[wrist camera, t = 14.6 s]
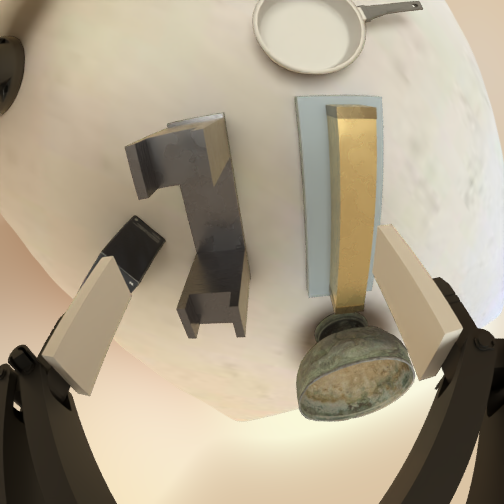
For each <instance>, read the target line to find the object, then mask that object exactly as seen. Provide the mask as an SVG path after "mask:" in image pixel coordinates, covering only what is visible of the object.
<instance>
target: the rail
mask: <svg viewBox="0 0 504 504" xmlns="http://www.w3.org/2000/svg"><path fill="white" fill-rule="evenodd" d="M326 115H327V125H328V139H329V158H330V185H331V256H330V284H329V293H330V297H331V301H332V305H333V309H334V313H335V315H337V314H346V313H354V312H361V311H364V302H365V295H366V289H367V282H368V275H369V268H370V259H371V251H372V241H373V230H374V218H375V202H376V179H377V127H376V119H377V108H376V107H372V106H366V105H359V104H328V105H326Z"/></svg>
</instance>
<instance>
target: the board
mask: <svg viewBox="0 0 504 504" xmlns="http://www.w3.org/2000/svg"><path fill="white" fill-rule="evenodd" d="M295 104H296V113H297V123H298V133H299V144H300V156H301V168H302V182H303V197H304V215H305V236H306V266H307V290H308V296H309V298H310V297H320V296H329V295H330V293H329V284H330V256H331V185H330V158H329V139H328V125H327V115H326V105H328V104H359V105H366V106H372V107H376V108H377V119H376V127H377V179H376V202H375V218H374V230H373V241H372V251H371V259H370V268H369V275H368V282H367V289H366V291H372V285H373V278H374V275H373V273H372V270H373V263H374V255H375V246H376V237H377V226H379V225H380V219H381V206H382V188H383V110H382V97H379V96H359V95H320V96H297V97H295Z"/></svg>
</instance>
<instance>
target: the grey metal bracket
mask: <svg viewBox="0 0 504 504" xmlns="http://www.w3.org/2000/svg"><path fill="white" fill-rule="evenodd" d="M167 127H168V128H166V129H163V130H161V131H159V132H156V133H154V134H152V135H149V136H147V137H145V138H142V139H140V140H138V141H136V142H134V143H132V144H129V145H127V146H125V150H126V154H127V158H128V162H129V166H130V170H131V174H132V178H133V181H134V185H135V189H136V192H137V196H138V199H139V200H140V199H146V198H149V197H150V196H151V195H152V194H153V193H154V192H155V191H156V190H157V189H158V188H163V187H169V186H174V185H180V187H181V192H182V196H183V200H184V204H185V208H186V213H187V217H188V221H189V224H190V228H191V232H192V236H193V240H194V244H195V248H196V251H197V254H196V257H195V259H194V262H193V265H192V267H191V270H190V273H189V275H188V278H187V281H186V284H185V286H184V289H183V292H182V295H181V298H180V300H179V303H178V306H177V312H178V314H179V317H180V319H181V321H182V324H183V326H184V329H185V331H186V333H187V336H188V338H197V334H198V329H199V325H200V324H210V323H233V325H234V328H235V332H236V336H237V337H245V334H246V321H247V308H248V296H249V283H250V279H251V276H250V270H249V264H248V258H247V252H246V246H245V240H244V233H243V227H242V221H241V215H240V209H239V203H238V197H237V191H236V185H235V178H234V172H233V166H232V160H231V154H230V147H229V141H228V135H227V129H226V122H225V116H224V113H218V114H212V115H206V116H201V117H196V118H191V119H186V120H181V121H176V122H172V123H168V124H167Z"/></svg>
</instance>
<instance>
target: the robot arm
mask: <svg viewBox="0 0 504 504" xmlns="http://www.w3.org/2000/svg"><path fill="white" fill-rule="evenodd" d="M23 70H24V51H23V47H22V44H21V42H20V41H19V39H18V38H16V37H14V36H3V37H0V115H1V114H3V113H4V112H5V111H6V110H7V109H8V108H9V107H10V106H11V104H12V102H13V101H14V99H15V97H16V95H17V92H18V90H19V87H20V84H21V80H22V76H23ZM372 273H373V275H374V277H375V279H376V281H377V283H378V285H379V287H380V289H381V292H382V294H383V296H384V298H385V300H386V302H387V304H388V306H389V309H390V311H391V313H392V315H393V317H394V320H395V322H396V324H397V327H398V329H399V331H400V334H401V336H402V338H403V341H404V343H405V346H406V348H407V350H408V353H409V355H410V358H411V361H412V363H413V366H414V368H415V371H416V374H417V376H418V379H419V381H421V380H424V379H427V378H430V377H433V376H436V374H437V373H438V371H439V370H440V368H441V367H442V370H443V372H444V376H443V377H442V379H441V380H440V381H439V383H438V384H437V386H436V388H435V389H436V390H437V389H438V391H437V393H436V396H435V399H434V401H433V404H432V406H431V409H430V411H429V413H428V416H427V418H426V420H425V423H424V425H423V427H422V429H421V432H420V434H419V436H418V438H417V440H416V442H415V444H414V446H413V448H412V450H411V452H410V453H409V456H408V458H407V459H406V461H405V463H404V464H403V466H402V468H401V470H400V472H399V473H398V475H397V476H396V478H395V480H394V481H393V483H392V485H391V486H390V488H389V489H388V491H387V492H386V494H385V495H384V497H383V498H382V500H381V501H380V503H379V504H450V502H451V500H452V498H453V496H454V494H455V492H456V490H457V488H458V486H459V483H460V481H461V479H462V477H463V474H464V472H465V470H466V467H467V465H468V462H469V460H470V457H471V455H472V452H473V449H474V446H475V443H476V441H477V437H478V434H479V442H478V449H477V455H476V462H475V467H474V473H473V477H472V482H471V486H470V491H469V494H468V498H467V502H466V504H504V339H495V338H494V336H493V335H492V334H491V333H490V332H488V331H486V330H484V329H479V328H477V326H476V325H475V323H474V321H473V320H472V318H471V317H470V315H469V313H468V312H467V310H466V309H465V307H464V306H463V304H462V302H460V299H459V298H458V296H457V295H455V292H454V291H453V289H452V288H451V286H450V285H449V284H448V283H447V282H446V281H444V280H443V279H442V278H440V277H438V278H433V279H432V278H431V276H430V275H429V273H428V272H427V270H426V269H425V268H424V266H423V265H422V263H421V262H420V261H419V259H418V258H417V256H416V255H415V254H414V252H413V251H412V250H411V248H410V247H409V246H408V244H407V243H406V242H405V240H404V239H403V238H402V237H401V235H400V234H399V233H398V231H397V230H396V229H395V228H394V226H393V225H392V224H389V225H379V226H377V237H376V246H375V255H374V263H373V270H372ZM131 297H132V295H131V293H130V291H129V289H128V287H127V285H126V283H125V280H124V278H123V276H122V274H121V272H120V270H119V268H118V265H117V263H116V261H115V259H114V257H113V256H109V257H102V258H101V260H100V261H99V262H98V264H97V265H96V267H95V268H94V269H93V271H92V272H91V274H90V275H89V277H88V278H87V280H86V281H85V283H84V284H83V286H82V287H81V289H80V290H79V292H78V293H77V295H76V296H75V298H74V300H73V301H72V303H71V304H70V306H69V308H68V309H67V311H66V312H65V313H64V314H63V315H62V317H60V319H59V320H58V321H57V323H56V325H55V326H54V329H53V330H52V331H51V333H50V336H49V337H48V339H47V340H46V342H45V344H44V346H43V348H42V350H41V351H40V353H39V355H38V357H37V358H36V356H35V355H34V354H33V353H32V352H31V351H30V349H29V348H28V347H27V346H26V345H20V346H17V347H16V348H15V349H14V350H13V351H12V353H11V354H10V356H9V358H8V363H9V364H10V365H11V366H12V367H13V368H14V369H15V370H13V369H12V368H11V367H10V365H8V364H3V365H1V366H0V504H117V503H116V501H115V499H114V498H113V496H112V494H111V492H110V490H109V489H108V486H107V484H106V482H105V480H104V478H103V476H102V474H101V472H100V470H99V467H98V465H97V463H96V461H95V459H94V456H93V454H92V451H91V449H90V446H89V444H88V441H87V439H86V436H85V433H84V430H83V428H82V425H81V422H80V419H79V416H78V413H77V410H76V407H75V403H74V400H73V397H72V395H71V393H70V392H69V388H70V386H71V387H72V388H73V389H74V390H75V391H76V392H77V393H79V394H83V395H88V396H90V395H91V392H92V389H93V387H94V384H95V381H96V379H97V376H98V374H99V371H100V368H101V366H102V363H103V361H104V358H105V356H106V353H107V351H108V349H109V346H110V343H111V341H112V339H113V337H114V335H115V332H116V330H117V328H118V325H119V323H120V321H121V319H122V316H123V314H124V312H125V310H126V308H127V306H128V303H129V301H130V299H131ZM14 402H15V403H16V404H17V405H19V406H20V407H21V409H20V411H18V410H16V409H15V408H14V407H13V403H14ZM479 431H480V432H479Z"/></svg>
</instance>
